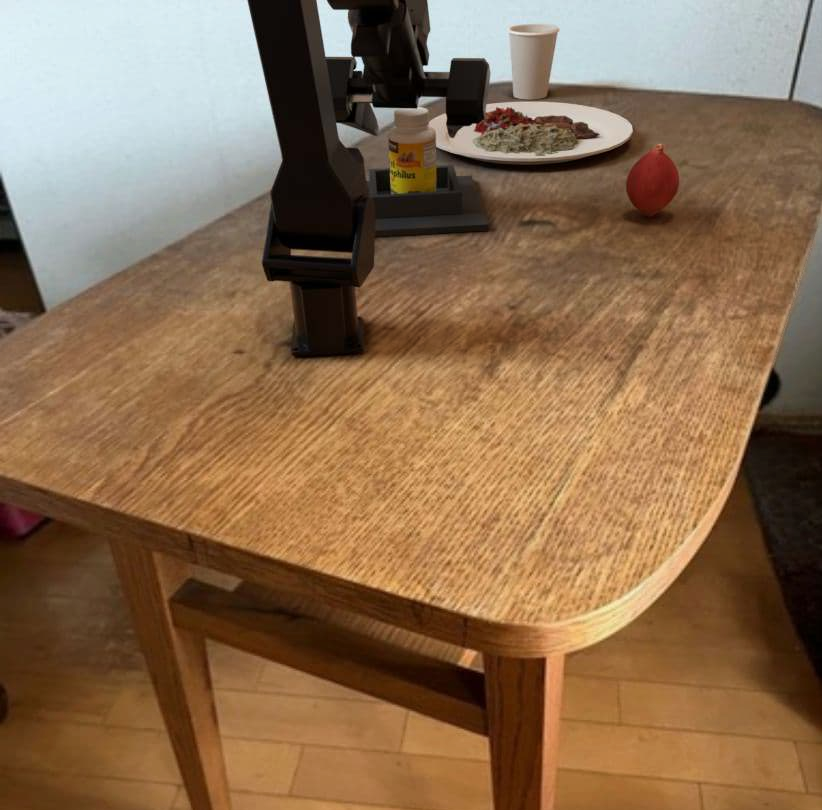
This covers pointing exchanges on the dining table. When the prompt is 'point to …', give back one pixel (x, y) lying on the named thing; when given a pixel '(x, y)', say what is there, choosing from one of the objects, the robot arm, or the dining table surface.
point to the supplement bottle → (412, 152)
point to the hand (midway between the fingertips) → (414, 132)
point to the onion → (652, 181)
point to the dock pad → (427, 206)
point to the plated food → (535, 133)
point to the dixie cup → (532, 59)
